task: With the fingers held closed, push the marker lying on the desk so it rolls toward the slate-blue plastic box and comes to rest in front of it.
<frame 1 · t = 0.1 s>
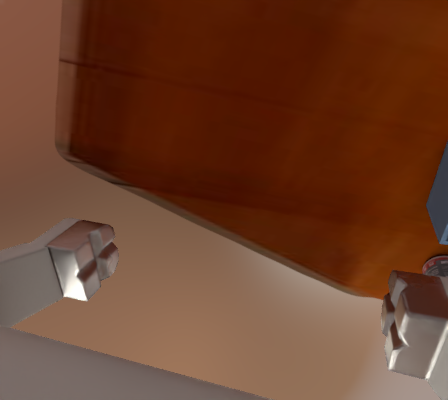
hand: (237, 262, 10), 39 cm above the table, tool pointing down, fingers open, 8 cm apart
pill bottle: (442, 267, 53), on the table
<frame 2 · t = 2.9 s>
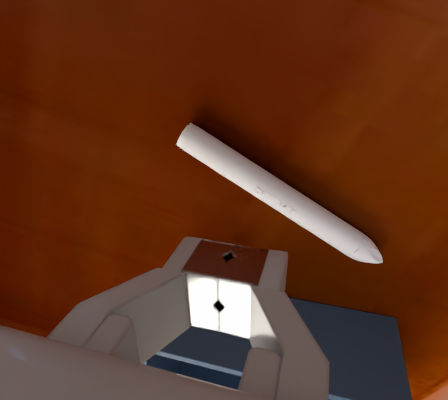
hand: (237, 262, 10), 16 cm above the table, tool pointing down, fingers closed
blue box: (275, 333, 34), on the table
marker: (286, 191, 27), on the table
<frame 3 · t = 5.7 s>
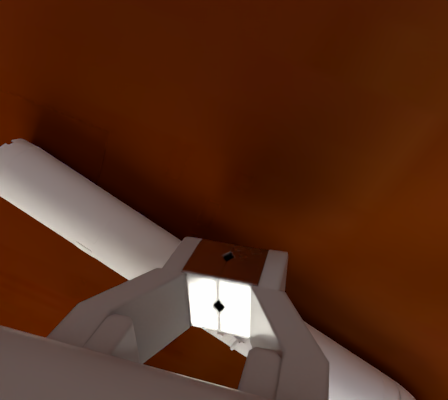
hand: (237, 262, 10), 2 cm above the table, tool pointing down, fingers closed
marker: (234, 281, 13), on the table, touching gripper
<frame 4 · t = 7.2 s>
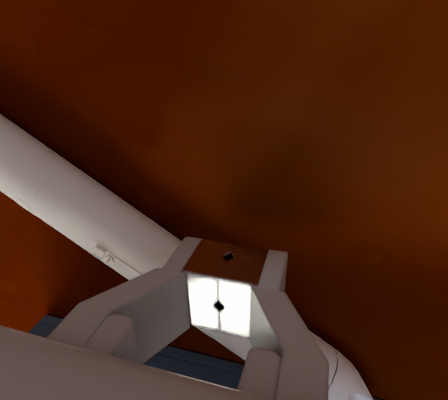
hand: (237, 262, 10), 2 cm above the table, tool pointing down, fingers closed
marker: (182, 248, 13), on the table
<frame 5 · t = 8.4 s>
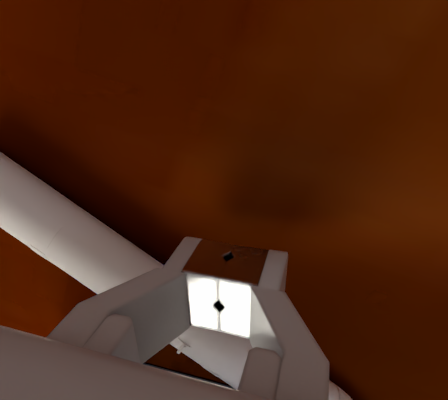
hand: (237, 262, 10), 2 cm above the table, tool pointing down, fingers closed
marker: (189, 286, 13), on the table
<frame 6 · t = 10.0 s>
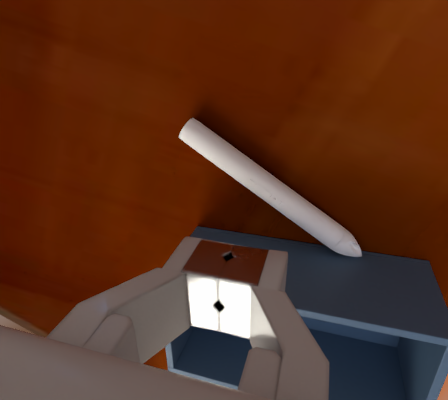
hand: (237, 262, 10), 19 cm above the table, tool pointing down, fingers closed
blue box: (298, 286, 33), on the table
marker: (276, 186, 29), on the table
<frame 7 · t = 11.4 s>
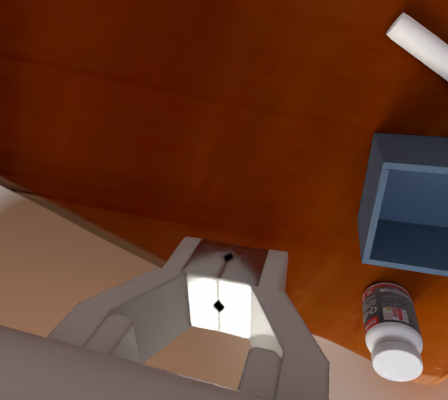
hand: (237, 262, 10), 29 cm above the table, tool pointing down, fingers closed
pill bottle: (385, 297, 43), on the table
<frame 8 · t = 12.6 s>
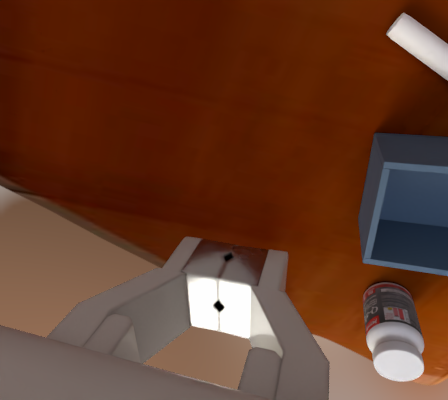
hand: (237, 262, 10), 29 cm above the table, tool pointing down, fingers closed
pill bottle: (386, 297, 43), on the table
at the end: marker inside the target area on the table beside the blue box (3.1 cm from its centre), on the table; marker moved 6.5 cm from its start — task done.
